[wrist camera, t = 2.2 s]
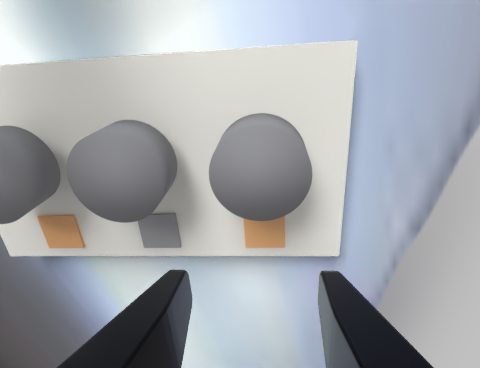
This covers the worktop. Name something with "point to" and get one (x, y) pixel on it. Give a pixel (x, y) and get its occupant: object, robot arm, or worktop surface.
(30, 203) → the button far
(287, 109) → the button board
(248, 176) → the button near
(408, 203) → the worktop surface
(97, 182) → the button middle
